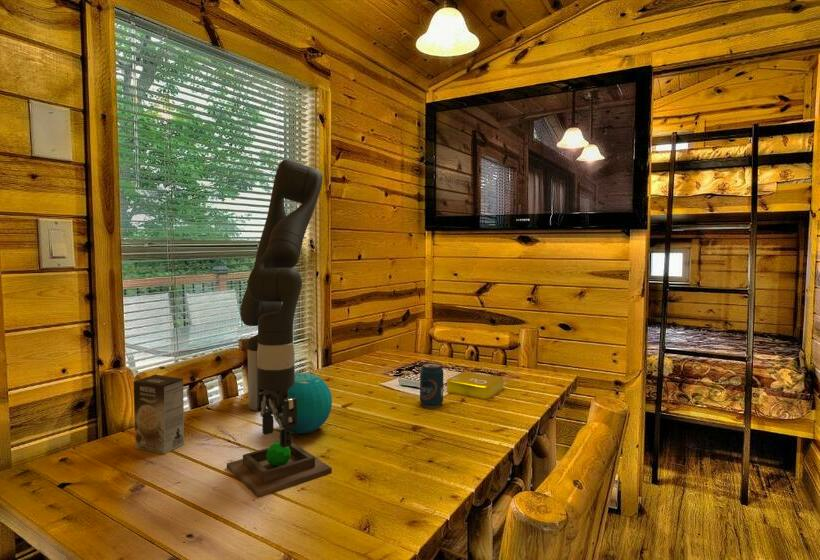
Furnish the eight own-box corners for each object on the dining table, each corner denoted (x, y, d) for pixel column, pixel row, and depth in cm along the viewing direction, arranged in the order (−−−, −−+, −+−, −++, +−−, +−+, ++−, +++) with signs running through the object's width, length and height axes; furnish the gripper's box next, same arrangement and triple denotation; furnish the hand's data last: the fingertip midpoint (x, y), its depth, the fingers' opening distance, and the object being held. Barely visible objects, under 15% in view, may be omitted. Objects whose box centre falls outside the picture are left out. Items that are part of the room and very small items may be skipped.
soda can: (416, 406, 144) (416, 366, 143) (424, 399, 150) (424, 361, 149) (438, 409, 141) (439, 368, 140) (446, 402, 148) (446, 363, 147)
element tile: (505, 389, 163) (505, 375, 163) (487, 401, 150) (487, 386, 150) (464, 382, 171) (464, 369, 171) (444, 393, 158) (444, 378, 158)
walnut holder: (226, 467, 103) (226, 454, 103) (295, 448, 114) (295, 435, 113) (257, 497, 91) (257, 482, 91) (331, 472, 101) (331, 458, 101)
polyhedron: (277, 472, 99) (277, 450, 99) (261, 466, 102) (260, 444, 101) (295, 463, 103) (295, 441, 103) (279, 458, 106) (279, 436, 105)
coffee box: (133, 449, 113) (131, 380, 111) (156, 438, 119) (154, 374, 117) (164, 454, 110) (162, 384, 108) (186, 444, 116) (184, 377, 114)
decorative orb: (259, 438, 119) (258, 378, 118) (294, 418, 133) (293, 364, 132) (312, 447, 114) (312, 384, 113) (342, 425, 128) (342, 369, 127)
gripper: (308, 368, 98) (309, 446, 99) (278, 354, 109) (278, 425, 110) (273, 374, 93) (274, 456, 94) (244, 359, 104) (245, 433, 105)
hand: (276, 439), depth 102 cm, fingers open, 8 cm apart
